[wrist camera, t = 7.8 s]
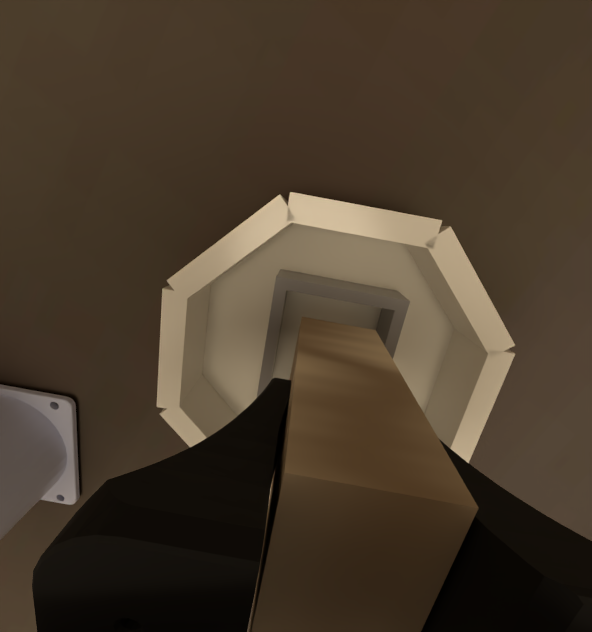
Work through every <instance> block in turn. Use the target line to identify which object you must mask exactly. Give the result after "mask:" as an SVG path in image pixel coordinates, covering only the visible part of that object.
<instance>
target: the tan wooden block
mask: <svg viewBox="0 0 592 632" xmlns="http://www.w3.org/2000/svg"><path fill="white" fill-rule="evenodd" d="M289 380H291V389H290V396H289V401H288V406H287V411H286V416H285V422H284V427H283V432H282V437H281V442H280V447H279V452H278V457H277V462H276V467H275V471H274V475H273V479H272V486H271V492H270V499H269V505H268V512H267V520H266V529H265V536H264V542H263V549H262V556H261V562H260V568H259V573H258V578H257V584H256V590H255V597H254V603H253V610H252V616H251V623H250V629H249V632H421V630H422V628H423V626H424V624H425V622H426V620H427V618H428V615H429V613H430V611H431V609H432V607H433V605H434V603H435V600H436V598H437V596H438V594H439V592H440V590H441V588H442V585H443V583H444V581H445V579H446V577H447V575H448V573H449V570H450V568H451V566H452V564H453V562H454V560H455V558H456V555H457V553H458V551H459V549H460V547H461V545H462V543H463V540H464V538H465V536H466V534H467V532H468V530H469V528H470V526H471V523H472V521H473V519H474V517H475V515H476V513H477V511H478V506H477V504H476V502H475V501H474V499H473V497H472V496H471V494H470V492H469V490H468V489H467V487H466V485H465V483H464V482H463V480H462V478H461V477H460V475H459V473H458V471H457V470H456V468H455V466H454V464H453V463H452V461H451V459H450V458H449V456H448V454H447V452H446V451H445V449H444V447H443V445H442V444H441V442H440V440H439V439H438V437H437V435H436V433H435V432H434V430H433V428H432V427H431V425H430V423H429V421H428V420H427V418H426V416H425V414H424V413H423V411H422V409H421V408H420V406H419V404H418V402H417V401H416V399H415V397H414V395H413V394H412V392H411V390H410V389H409V387H408V385H407V383H406V382H405V380H404V378H403V376H402V375H401V373H400V371H399V370H398V368H397V366H396V364H395V363H394V361H393V359H392V357H391V356H390V354H389V352H388V351H387V349H386V347H385V345H384V344H383V342H382V340H381V338H380V337H379V335H378V333H377V332H376V330H372V329H367V328H361V327H356V326H351V325H345V324H340V323H334V322H329V321H324V320H318V319H313V318H308V317H301V323H300V328H299V333H298V338H297V343H296V348H295V354H294V359H293V364H292V369H291V374H290V379H289Z"/></svg>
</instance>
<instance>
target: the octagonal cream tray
mask: <svg viewBox="0 0 592 632" xmlns="http://www.w3.org/2000/svg"><path fill="white" fill-rule="evenodd" d="M441 223H442V220H437V219H432V218H427V217H421V216H416V215H411V214H406V213H400V212H395V211H390V210H384V209H379V208H374V207H368V206H363V205H358V204H352V203H347V202H342V201H336V200H331V199H326V198H320V197H315V196H310V195H304V194H299V193H294V192H290V196H289V202H288V201H287V200H286V199H285V198H284V197H283V196H281V195H278V196H277V197H276V198H274V199H273V200H272V201H270V202H269V203H268V204H266V205H265V206H264V207H263V208H261V209H260V210H259V211H257V212H256V213H255V214H253V215H252V216H251V217H249V218H248V219H247V220H245V221H244V222H243V223H242V224H240V225H239V226H238V227H236V228H235V229H234V230H232V231H231V232H230V233H228V234H227V235H226V236H224V237H223V238H222V239H221V240H219V241H218V242H217V243H215V244H214V245H213V246H211V247H210V248H209V249H207V250H206V251H205V252H203V253H202V254H201V255H199V256H198V257H197V258H196V259H194V260H193V261H192V262H190V263H189V264H188V265H186V266H185V267H184V268H182V269H181V270H180V271H178V272H177V273H176V274H175V275H173V276H172V277H171V278H169V279H168V280H167V282H168V283H169V284H170V285H169V286H167V287H165V288H162V307H161V328H160V348H159V368H158V388H157V407H160V408H164V409H163V410H162V411H161V413H160V415H161V416H162V417H163V418H164V420H165V421H166V422H167V423H168V424H169V425H170V426H171V427H172V428H173V429H174V430H175V431H176V433H177V434H178V435H179V436H180V437H181V438H182V439H183V440H184V441H185V442H186V443H187V445H188V446H189V447H192V446H194V445H196V444H198V443H199V442H201V441H203V440H204V439H206V438H208V437H209V436H211V435H212V434H214V433H216V432H217V431H218V430H220V429H221V428H223V427H224V426H225V425H227V424H228V423H229V422H231V421H232V420H233V419H235V418H236V417H237V416H238V415H239V414H240V413H241V412H243V411H244V410H245V409H246V408H247V407H248V406H249V405H250V404H251V403H252V402H253V401H254V400H255V399H256V398H257V397H258V396H259V395H260V394H261V393H262V392H263V390H264V389H265V388H266V387H267V385H268V384H269V383H270V381H271V380H272V379H273V378H281V379H286V380H289V379H290V374H291V369H292V364H293V359H294V354H295V348H296V343H297V338H298V333H299V328H300V323H301V317H308V318H313V319H318V320H324V321H329V322H334V323H340V324H345V325H351V326H356V327H361V328H367V329H372V330H376V332H377V333H378V335H379V337H380V338H381V340H382V342H383V344H384V345H385V347H386V349H387V351H388V352H389V354H390V356H391V357H392V359H393V361H394V363H395V364H396V366H397V368H398V370H399V371H400V373H401V375H402V376H403V378H404V380H405V382H406V383H407V385H408V387H409V389H410V390H411V392H412V394H413V395H414V397H415V399H416V401H417V402H418V404H419V406H420V408H421V409H422V411H423V413H424V414H425V416H426V418H427V420H428V421H429V423H430V425H431V427H432V428H433V430H434V432H435V433H436V435H437V437H438V438H439V439H440V440H441V441H442V442H443V443H444V444H446V445H447V446H448V447H449V448H450V449H451V450H453V451H454V452H455V453H456V454H458V455H459V456H460V457H461V458H462V459H464V460H465V461H466V462H467V463H469V461H470V458H471V456H472V454H473V451H474V449H475V447H476V444H477V442H478V440H479V437H480V435H481V433H482V430H483V428H484V426H485V423H486V421H487V419H488V416H489V414H490V412H491V409H492V407H493V405H494V402H495V400H496V398H497V395H498V393H499V391H500V388H501V386H502V384H503V381H504V379H505V377H506V374H507V372H508V370H509V367H510V365H511V363H512V360H513V358H514V356H515V353H513V352H512V351H510V350H509V348H511V347H513V346H515V344H514V342H513V341H512V339H511V337H510V335H509V333H508V331H507V329H506V328H505V326H504V324H503V322H502V320H501V318H500V317H499V315H498V313H497V311H496V309H495V307H494V306H493V304H492V302H491V300H490V298H489V296H488V294H487V293H486V291H485V289H484V287H483V285H482V283H481V282H480V280H479V278H478V276H477V274H476V272H475V271H474V269H473V267H472V265H471V263H470V261H469V259H468V258H467V256H466V254H465V252H464V250H463V248H462V247H461V245H460V243H459V241H458V239H457V237H456V236H455V234H454V232H453V230H452V228H451V226H441ZM271 486H272V483H271ZM270 492H271V488H270ZM269 499H270V496H269Z"/></svg>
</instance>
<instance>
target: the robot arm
mask: <svg viewBox="0 0 592 632" xmlns="http://www.w3.org/2000/svg"><path fill="white" fill-rule="evenodd" d="M290 389H291V380H286V379H281V378H273V379H272V380H271V381H270V383H269V384H268V385H267V387H266V388H265V389H264V390H263V392H262V393H261V394H260V395H259V396H258V397H257V398H256V399H255V400H254V401H253V402H252V403H251V404H250V405H249V406H248V407H247V408H246V409H245V410H244V411H243V412H241V413H240V414H239V415H238V416H237V417H236V418H235V419H233V420H232V421H231V422H229V423H228V424H227V425H225V426H224V427H223V428H221V429H220V430H218V431H217V432H216V433H214V434H212V435H211V436H209V437H208V438H206V439H204V440H203V441H201V442H199V443H198V444H196V445H194V446H192V447H190V448H188V449H186V450H184V451H182V452H180V453H178V454H176V455H174V456H172V457H169V458H167V459H165V460H162V461H160V462H157V463H155V464H152V465H150V466H147V467H144V468H141V469H139V470H136V471H133V472H130V473H127V474H124V475H121V476H118V477H115V478H112V479H109V480H107V481H106V482H105V483H104V484H103V485H102V486H101V487H100V488H99V489H98V490H97V491H96V492H95V493H94V494H93V495H92V496H91V497H90V498H89V499H88V500H87V501H86V503H85V504H84V505H83V506H82V507H81V508H80V509H79V510H78V511H77V512H76V514H75V515H74V516H73V517H72V519H71V520H70V521H69V522H68V523H67V525H66V526H65V527H64V528H63V530H62V531H61V532H60V533H59V535H58V536H57V537H56V538H55V540H54V541H53V542H52V543H51V545H50V546H49V547H48V548H47V549H46V551H45V552H44V553H43V554H42V556H41V557H40V559H39V561H38V563H37V565H36V566H35V568H34V570H33V583H32V588H33V598H34V606H35V615H36V624H37V632H247V628H248V623H249V618H250V613H251V608H252V603H253V598H254V593H255V588H256V583H257V578H258V573H259V568H260V562H261V556H262V549H263V542H264V536H265V529H266V520H267V512H268V504H269V496H270V488H271V483H272V479H273V475H274V471H275V467H276V462H277V457H278V452H279V447H280V442H281V437H282V432H283V427H284V422H285V416H286V411H287V406H288V401H289V396H290ZM56 403H57V404H58V405H57V404H56ZM438 439H439V438H438ZM439 440H440V439H439ZM440 442H441V444H442V445H443V447H444V449H445V451H446V452H447V454H448V456H449V458H450V459H451V461H452V463H453V464H454V466H455V468H456V470H457V471H458V473H459V475H460V477H461V478H462V480H463V482H464V483H465V485H466V487H467V489H468V490H469V492H470V494H471V496H472V497H473V499H474V501H475V502H476V504H477V506H478V511H477V513H476V515H475V517H474V519H473V521H472V523H471V526H470V528H469V530H468V532H467V534H466V536H465V538H464V540H463V543H462V545H461V547H460V549H459V551H458V553H457V555H456V558H455V560H454V562H453V564H452V566H451V568H450V570H449V573H448V575H447V577H446V579H445V581H444V583H443V585H442V588H441V590H440V592H439V594H438V596H437V598H436V600H435V603H434V605H433V607H432V609H431V611H430V613H429V615H428V618H427V620H426V622H425V624H424V626H423V628H422V630H421V632H592V541H590V540H588V539H586V538H585V537H583V536H581V535H579V534H577V533H575V532H574V531H572V530H570V529H568V528H566V527H565V526H563V525H561V524H559V523H558V522H556V521H554V520H553V519H551V518H549V517H547V516H546V515H544V514H542V513H541V512H539V511H538V510H536V509H534V508H533V507H531V506H530V505H528V504H526V503H525V502H523V501H522V500H520V499H518V498H517V497H515V496H514V495H512V494H511V493H509V492H508V491H506V490H505V489H503V488H502V487H500V486H499V485H497V484H496V483H495V482H493V481H492V480H490V479H489V478H488V477H486V476H485V475H483V474H482V473H481V472H479V471H478V470H477V469H475V468H474V467H473V466H471V465H470V464H469V463H467V462H466V461H465V460H464V459H462V458H461V457H460V456H459V455H458V454H456V453H455V452H454V451H453V450H451V449H450V448H449V447H448V446H447V445H446V444H444V443H443V442H442V441H441V440H440ZM79 496H80V495H79V471H78V447H77V423H76V404H75V402H74V400H73V399H71V398H70V397H67V396H61V395H56V394H50V393H45V392H39V391H34V390H28V389H23V388H17V387H12V386H6V385H1V384H0V540H1V539H2V538H3V537H4V536H5V535H6V534H7V533H8V532H9V531H10V530H11V529H12V528H13V527H14V526H15V524H16V523H17V522H18V521H19V520H20V519H21V518H22V517H23V516H24V515H25V514H26V513H27V512H28V511H29V510H30V509H31V508H32V507H33V506H34V505H35V504H36V503H37V502H38V501H39V500H46V501H51V502H57V503H63V504H68V505H72V504H74V503H75V502H76V501H77V500H78V499H79Z"/></svg>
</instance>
